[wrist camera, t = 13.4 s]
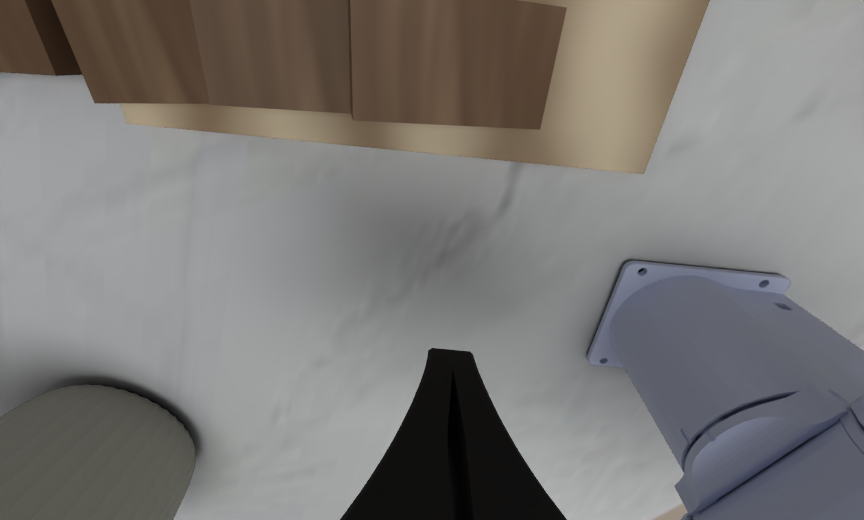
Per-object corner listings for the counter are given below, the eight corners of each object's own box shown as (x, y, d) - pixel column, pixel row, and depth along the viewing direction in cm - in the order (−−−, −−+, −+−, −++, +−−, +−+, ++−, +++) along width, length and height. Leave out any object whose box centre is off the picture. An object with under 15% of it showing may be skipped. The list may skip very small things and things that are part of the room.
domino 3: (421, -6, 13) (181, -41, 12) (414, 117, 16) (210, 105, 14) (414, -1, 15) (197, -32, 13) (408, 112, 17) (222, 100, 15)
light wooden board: (710, -26, 14) (720, -29, 14) (638, 170, 18) (643, 174, 18) (73, -87, 14) (58, -93, 14) (136, 121, 18) (126, 123, 18)
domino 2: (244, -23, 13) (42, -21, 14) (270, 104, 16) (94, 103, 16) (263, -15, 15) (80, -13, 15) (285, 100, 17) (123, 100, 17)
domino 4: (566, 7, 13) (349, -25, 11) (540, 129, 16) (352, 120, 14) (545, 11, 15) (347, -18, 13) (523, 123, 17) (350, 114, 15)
